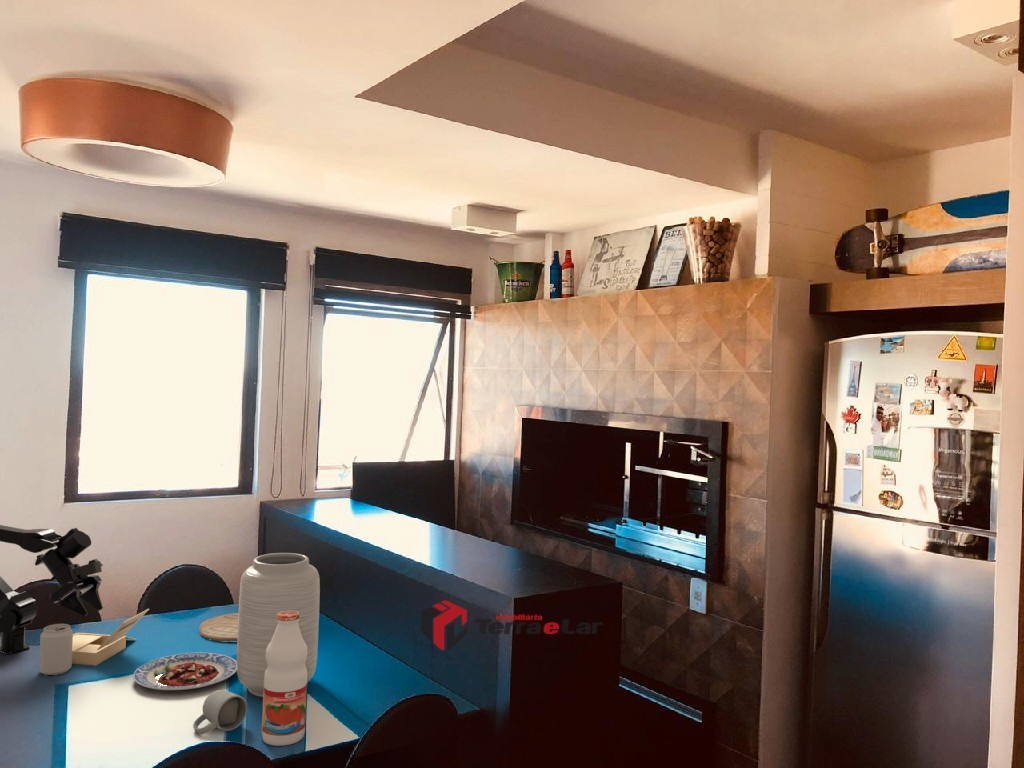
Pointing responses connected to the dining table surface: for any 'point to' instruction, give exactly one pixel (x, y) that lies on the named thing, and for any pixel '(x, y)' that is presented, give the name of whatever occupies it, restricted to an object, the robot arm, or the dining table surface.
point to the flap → (123, 629)
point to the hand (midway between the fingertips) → (93, 612)
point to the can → (56, 649)
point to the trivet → (220, 628)
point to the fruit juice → (285, 683)
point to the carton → (94, 648)
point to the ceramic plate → (185, 671)
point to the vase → (275, 612)
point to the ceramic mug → (222, 712)
